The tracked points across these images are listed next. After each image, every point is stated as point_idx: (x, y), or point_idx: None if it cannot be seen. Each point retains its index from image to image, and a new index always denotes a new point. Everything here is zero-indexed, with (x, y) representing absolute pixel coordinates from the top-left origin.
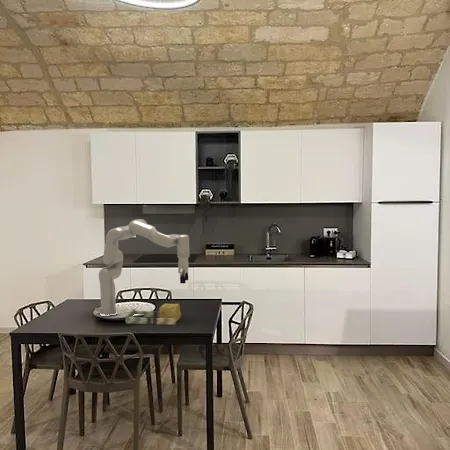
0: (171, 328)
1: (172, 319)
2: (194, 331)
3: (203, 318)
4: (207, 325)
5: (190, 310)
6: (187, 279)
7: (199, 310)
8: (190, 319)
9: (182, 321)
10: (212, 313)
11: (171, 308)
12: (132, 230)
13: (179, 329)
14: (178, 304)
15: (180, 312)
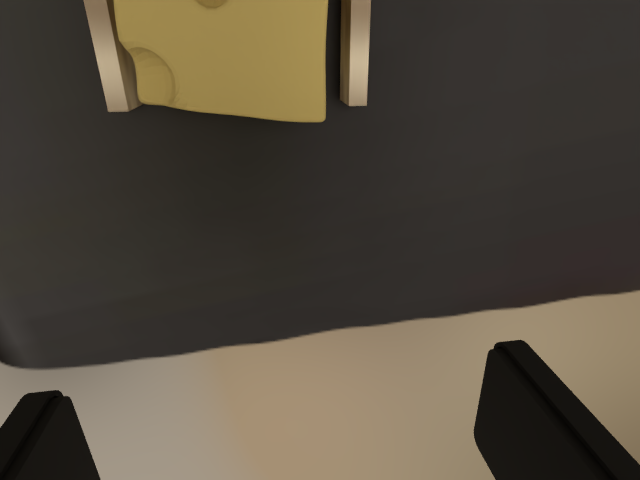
0: (4, 97)
1: (103, 82)
2: (6, 288)
3: (339, 273)
4: (176, 331)
5: (563, 132)
6: (484, 445)
7: (552, 202)
8: (303, 192)
9: (237, 143)
10: (464, 300)
11: (156, 54)
12: None
13: (6, 173)
14: (286, 120)
15: (354, 105)
